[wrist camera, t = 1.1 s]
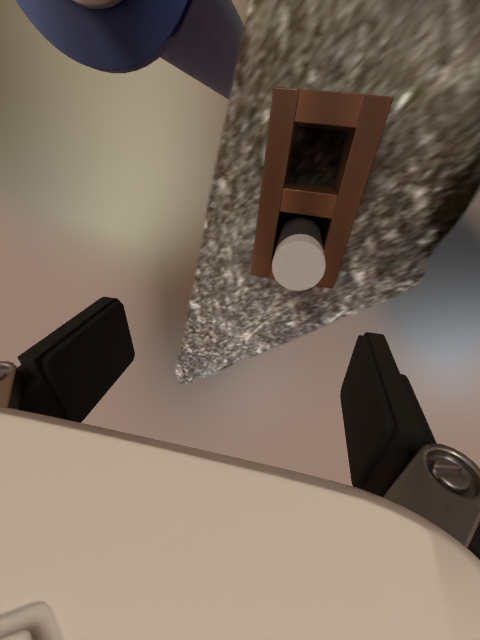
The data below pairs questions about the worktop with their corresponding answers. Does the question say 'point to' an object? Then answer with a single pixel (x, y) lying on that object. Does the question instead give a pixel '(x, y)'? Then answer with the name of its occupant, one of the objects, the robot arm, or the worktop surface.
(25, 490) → the robot arm
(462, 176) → the worktop surface
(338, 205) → the holder
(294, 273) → the tool handle
